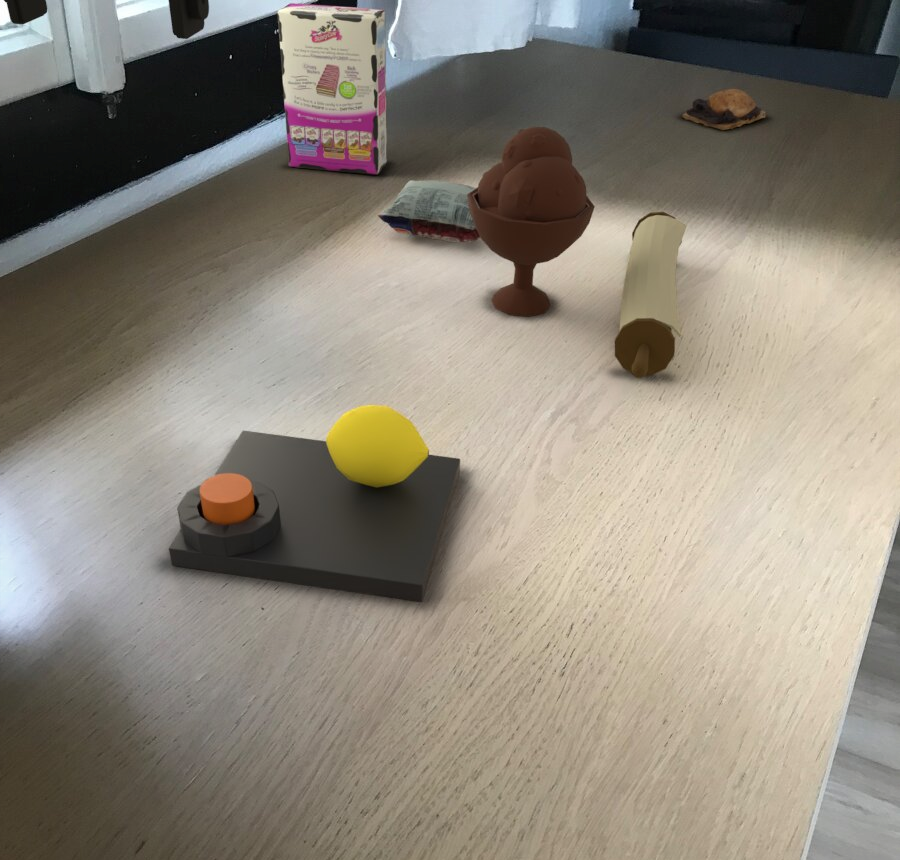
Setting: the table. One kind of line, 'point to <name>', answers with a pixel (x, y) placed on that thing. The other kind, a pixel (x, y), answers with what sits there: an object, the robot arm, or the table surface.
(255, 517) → the scale
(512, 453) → the table surface
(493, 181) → the ice cream bowl
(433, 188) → the packaged food
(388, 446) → the lemon
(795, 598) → the table surface
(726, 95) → the chocolate marshmallow cracker
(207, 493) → the tare button
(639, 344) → the scroll
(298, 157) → the candy bar box
